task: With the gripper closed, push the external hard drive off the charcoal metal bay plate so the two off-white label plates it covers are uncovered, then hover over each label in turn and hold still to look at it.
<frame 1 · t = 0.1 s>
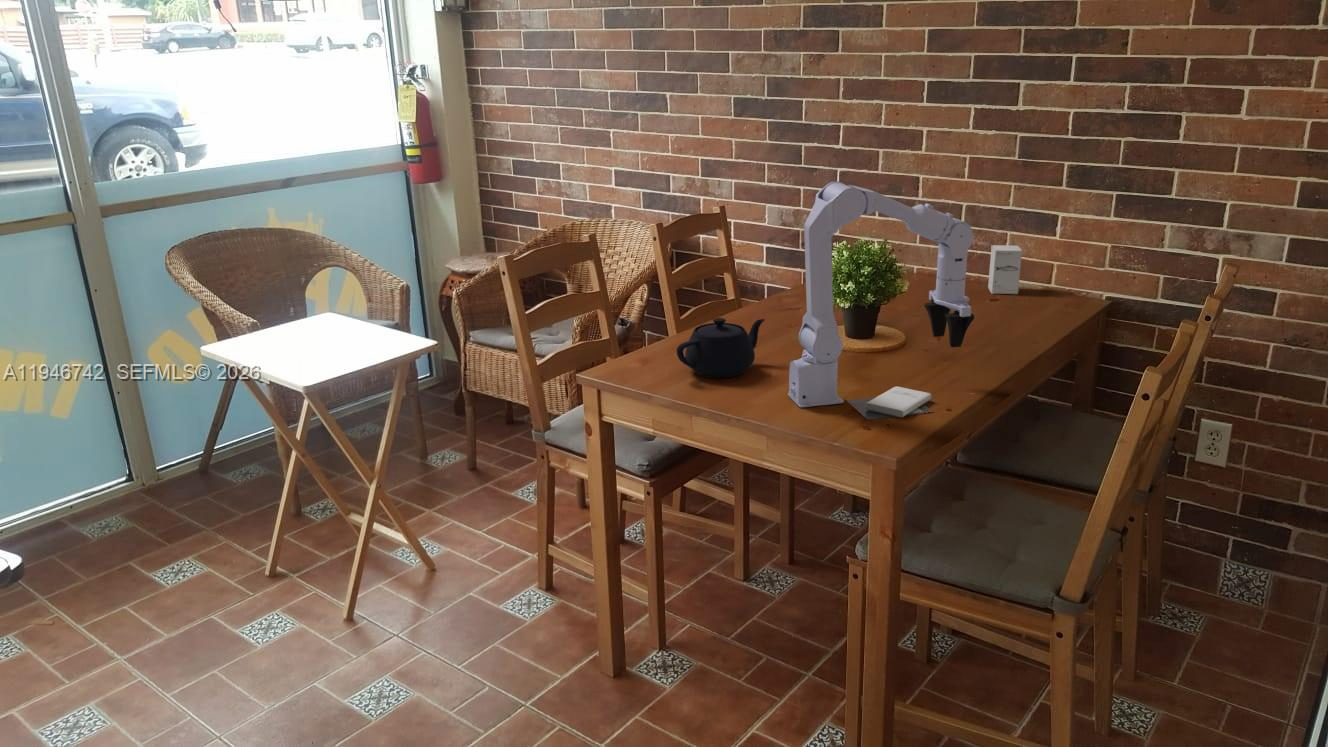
hand: (946, 341, 213), 10 cm above the table, tool pointing down, fingers open, 7 cm apart
supplement box: (1002, 292, 290), on the table
bay plate: (889, 406, 206), on the table
teapot: (722, 371, 231), on the table
external hard drive: (898, 405, 207), resting on bay plate
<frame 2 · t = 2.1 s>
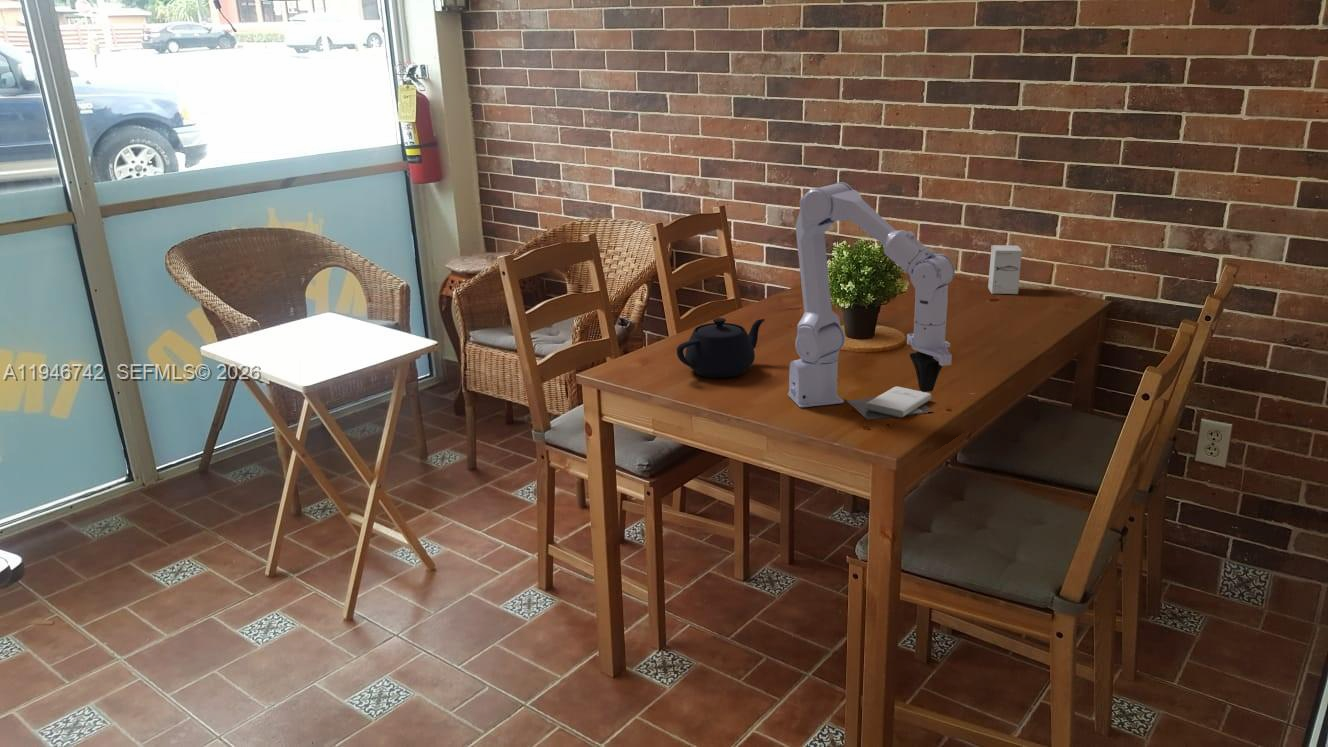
hand: (926, 390, 194), 7 cm above the table, tool pointing down, fingers closed
nothing on the table moved.
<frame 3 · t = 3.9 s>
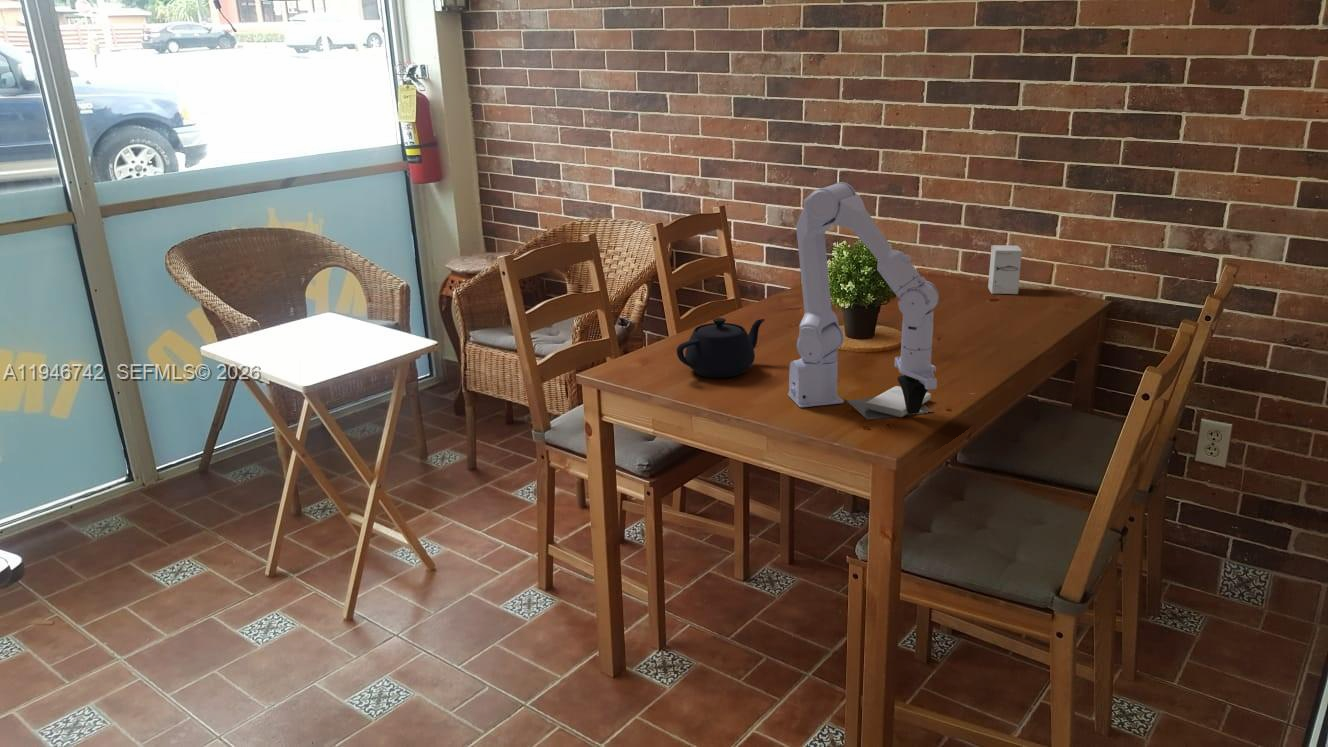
hand: (912, 412, 200), 1 cm above the table, tool pointing down, fingers closed
external hard drive: (898, 405, 207), resting on bay plate, touching gripper
everything else where it was.
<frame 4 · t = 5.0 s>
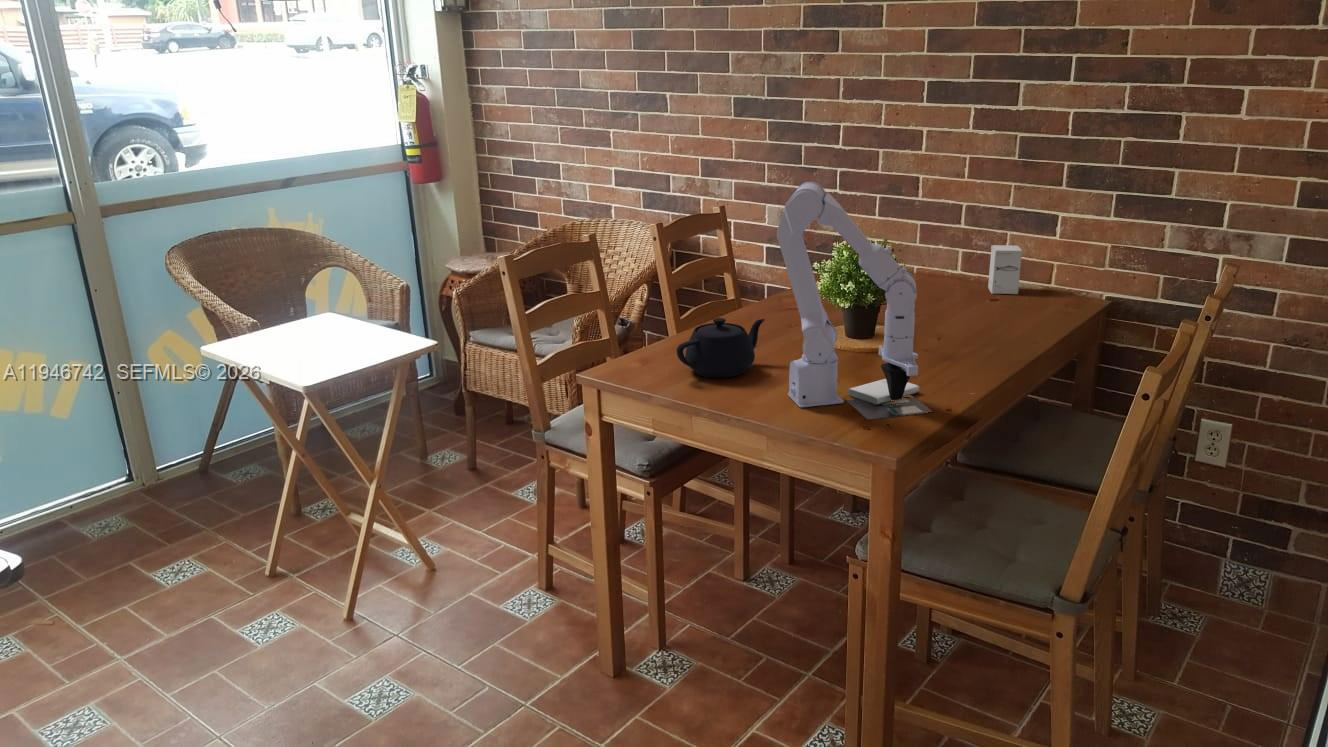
hand: (895, 398, 208), 1 cm above the table, tool pointing down, fingers closed
external hard drive: (883, 394, 213), resting on bay plate, touching gripper
everything else where it was.
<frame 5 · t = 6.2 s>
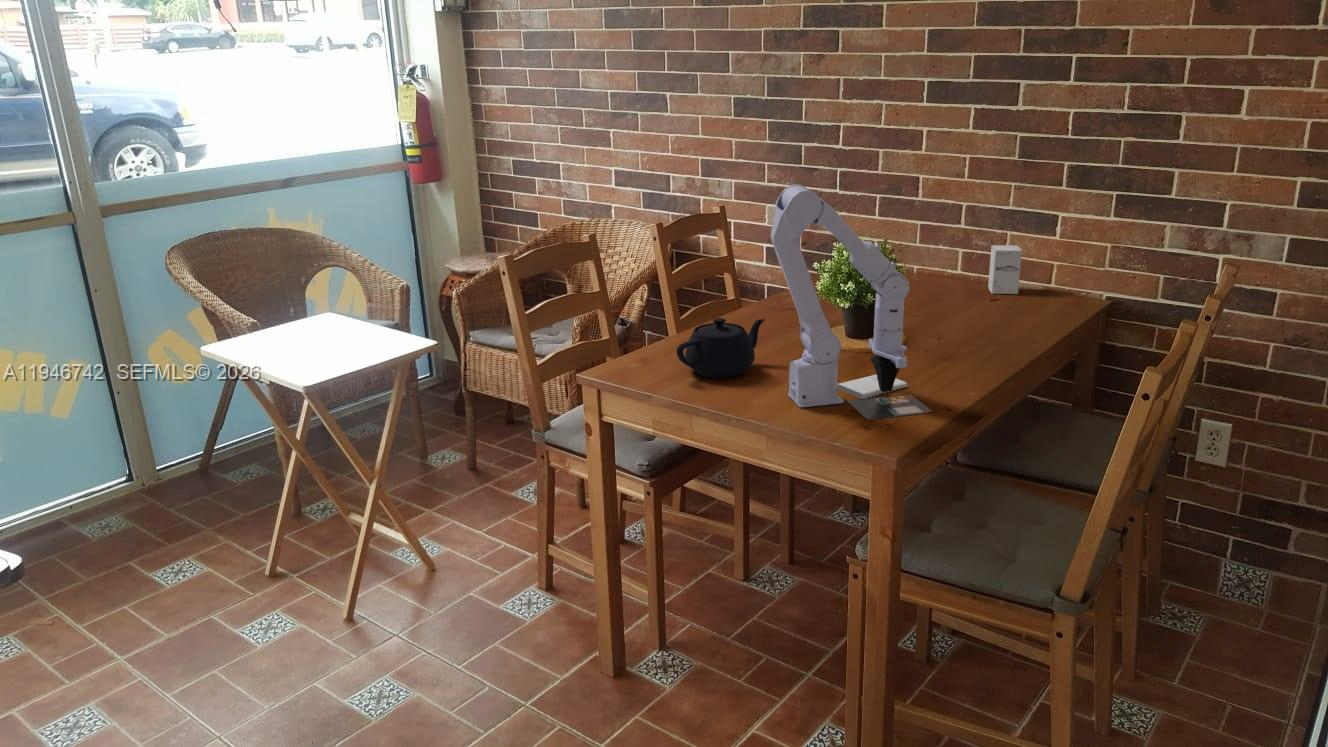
hand: (885, 390, 212), 1 cm above the table, tool pointing down, fingers closed
external hard drive: (871, 390, 217), on the table
everything else where it was.
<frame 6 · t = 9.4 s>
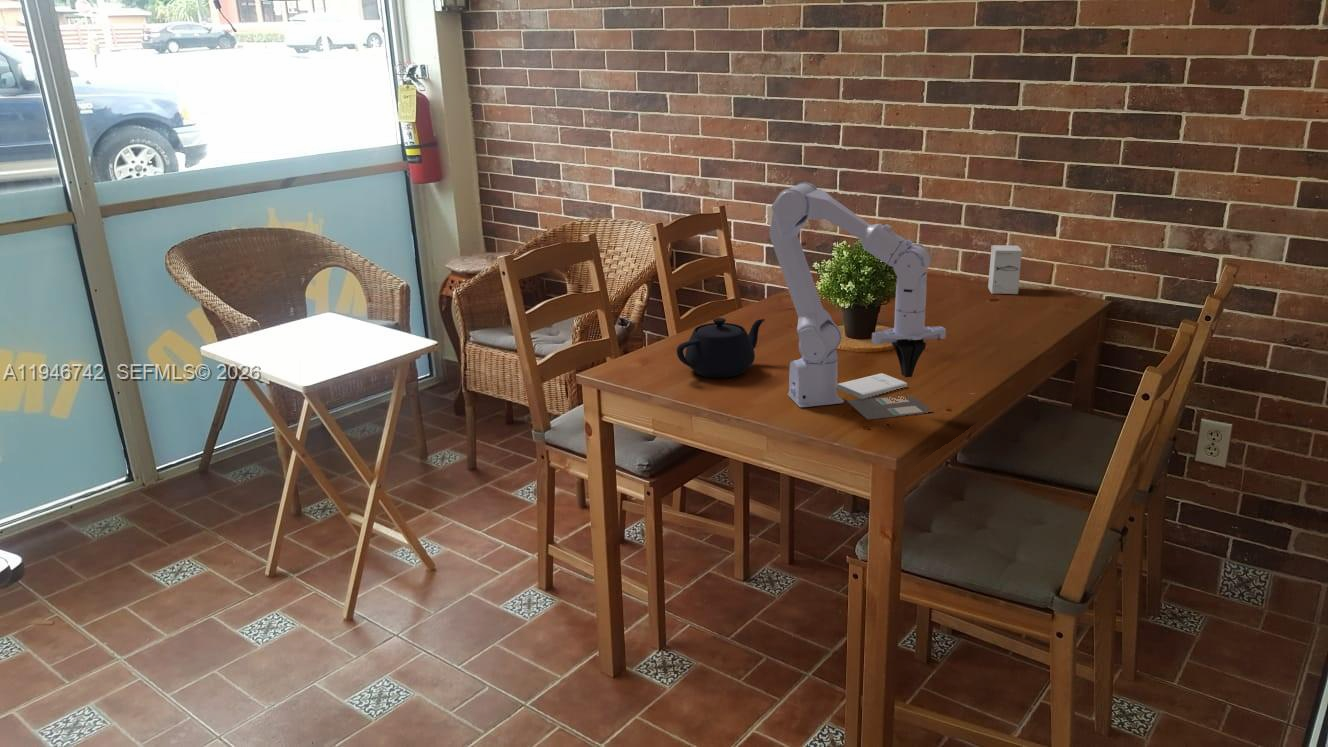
hand: (906, 375, 201), 7 cm above the table, tool pointing down, fingers closed
nothing on the table moved.
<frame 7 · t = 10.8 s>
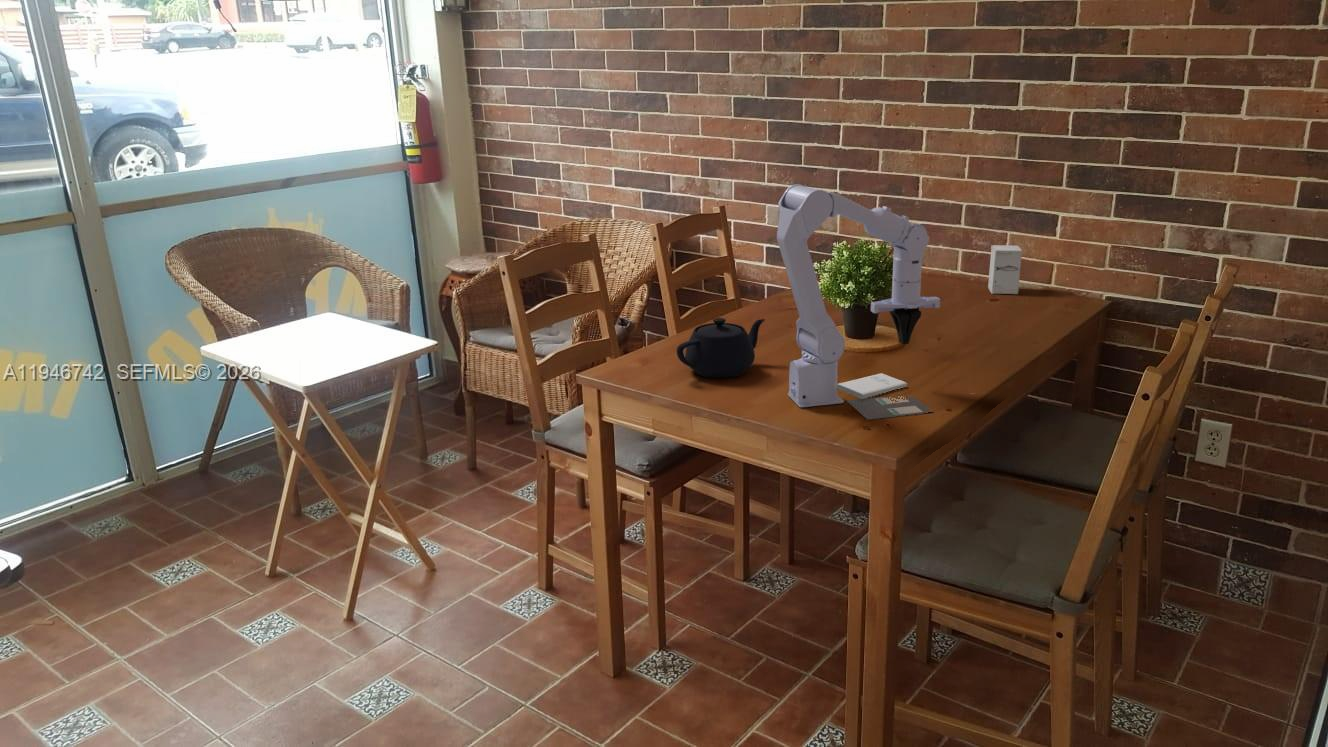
hand: (903, 342, 215), 9 cm above the table, tool pointing down, fingers closed
nothing on the table moved.
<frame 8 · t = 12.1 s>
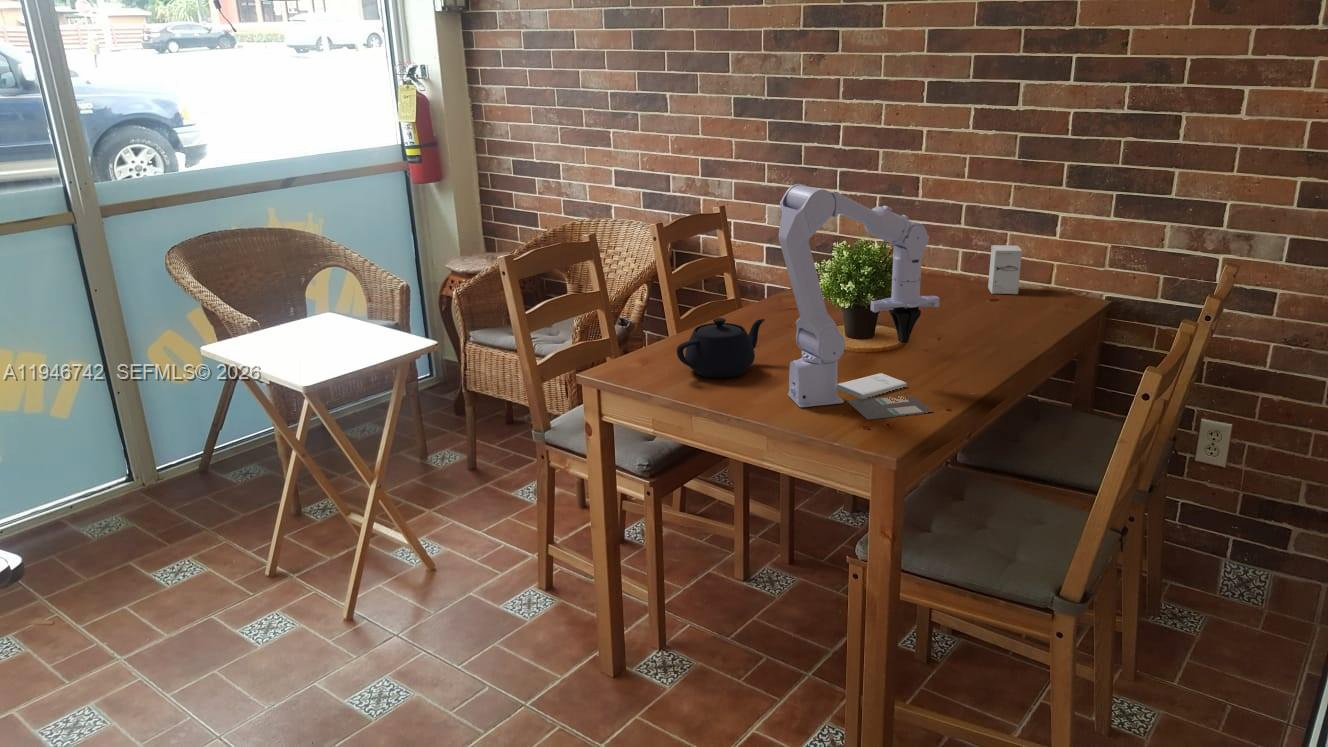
hand: (903, 341, 216), 9 cm above the table, tool pointing down, fingers closed
nothing on the table moved.
at the end: external hard drive inside the target area (5.0 cm from its centre), on the table; external hard drive tilted 0° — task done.
